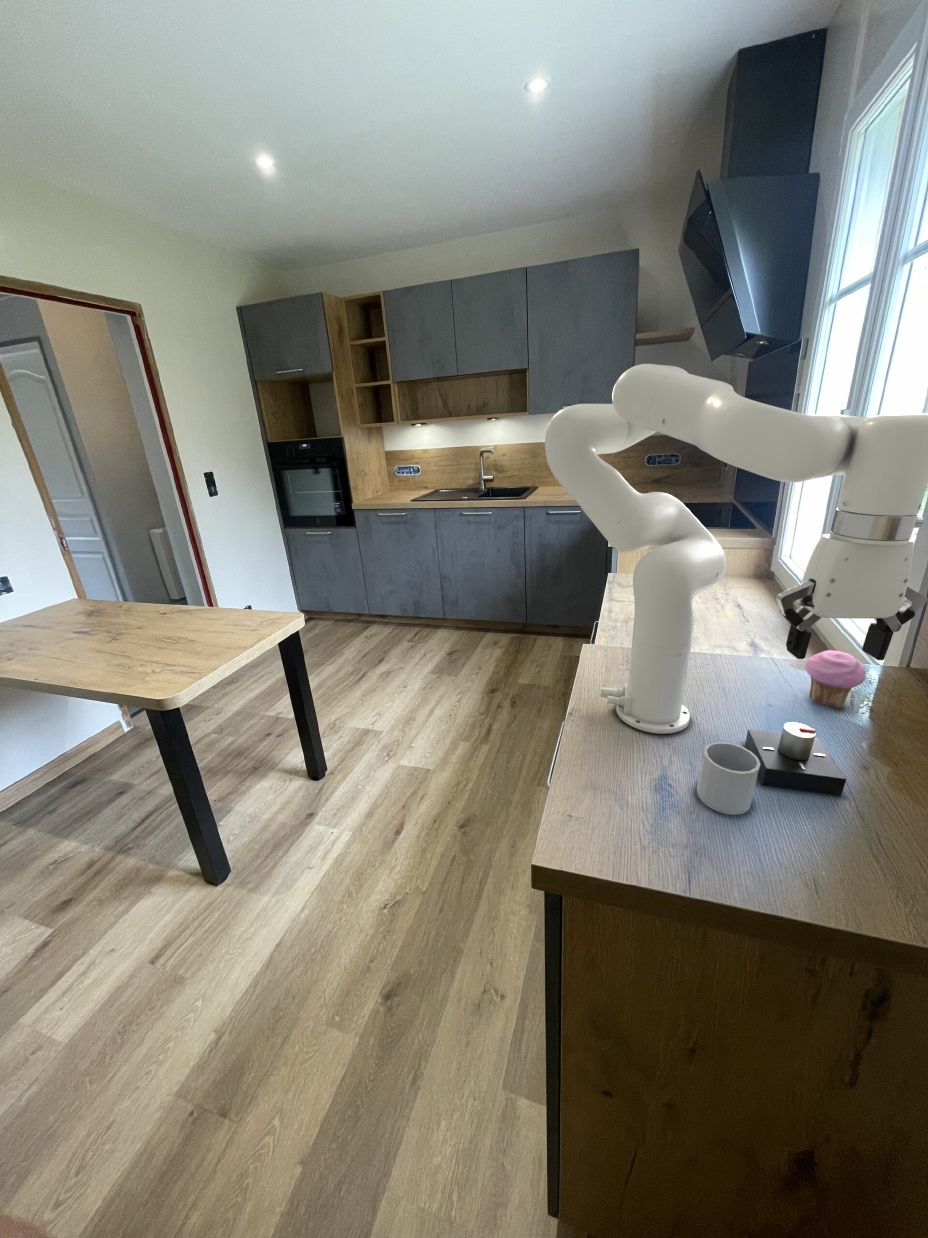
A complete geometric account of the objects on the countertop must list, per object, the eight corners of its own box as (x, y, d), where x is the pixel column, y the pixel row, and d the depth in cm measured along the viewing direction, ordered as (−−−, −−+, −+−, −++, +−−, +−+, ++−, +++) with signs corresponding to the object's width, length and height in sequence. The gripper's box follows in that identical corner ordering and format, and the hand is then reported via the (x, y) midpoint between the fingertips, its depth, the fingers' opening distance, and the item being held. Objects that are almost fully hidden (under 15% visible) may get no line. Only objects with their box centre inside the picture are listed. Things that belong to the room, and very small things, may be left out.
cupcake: (795, 703, 91) (808, 656, 87) (800, 684, 97) (812, 639, 93) (855, 719, 86) (871, 668, 82) (856, 698, 92) (870, 650, 88)
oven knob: (783, 758, 72) (789, 734, 70) (774, 742, 75) (780, 718, 74) (813, 762, 71) (821, 737, 69) (803, 746, 74) (810, 722, 73)
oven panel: (762, 785, 71) (766, 767, 70) (744, 744, 80) (748, 728, 79) (841, 796, 68) (847, 778, 67) (814, 753, 77) (818, 736, 76)
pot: (701, 810, 67) (709, 769, 64) (693, 778, 73) (700, 739, 70) (756, 819, 65) (766, 777, 62) (743, 785, 71) (752, 745, 69)
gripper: (923, 519, 60) (882, 644, 67) (778, 521, 62) (751, 642, 68) (978, 532, 53) (926, 669, 60) (813, 533, 55) (779, 667, 61)
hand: (833, 655), depth 64 cm, fingers open, 9 cm apart
